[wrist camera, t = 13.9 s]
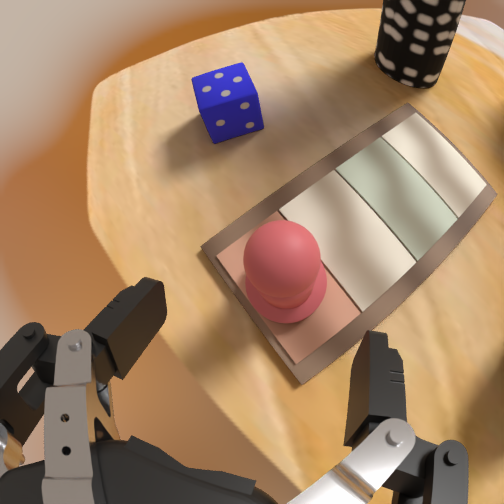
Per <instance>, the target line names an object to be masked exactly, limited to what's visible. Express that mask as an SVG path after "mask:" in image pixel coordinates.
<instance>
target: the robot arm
mask: <svg viewBox="0 0 504 504" xmlns="http://www.w3.org/2000/svg"><path fill="white" fill-rule="evenodd" d="M166 316H167V306H166V299H165V291H164V285H163V282H161V281H158V280H155V279H151V278H148V277H144V278H142V279H141V280H140V281H139V282H138V283H137V284H136V285H135V286H130V287H128V288H126V289H125V290H122V291H121V292H120V293H119V294H118V295H117V296H116V297H115V298H114V299H113V301H111V302H110V303H109V304H108V305H107V307H105V308H104V309H103V310H102V311H101V312H100V313H99V314H98V315H97V316H96V317H95V318H94V319H93V320H92V321H91V322H90V324H89V325H88V326H87V327H86V328H85V329H84V330H79V329H78V330H77V329H76V330H71V331H68V332H66V333H65V334H64V335H62V336H56V335H50V334H46V331H45V330H44V327H43V326H42V325H41V324H40V323H36V322H32V323H28V324H26V325H24V326H23V327H22V328H20V329H19V330H18V332H16V334H15V335H14V336H13V337H12V338H11V339H10V340H9V341H8V342H7V343H6V344H5V346H4V347H3V348H2V349H1V350H0V504H278V503H277V502H276V501H275V500H274V499H273V498H272V497H271V496H269V495H268V494H267V493H265V492H264V491H262V490H261V489H259V488H256V487H255V483H256V480H251V479H248V478H244V477H240V476H237V475H233V474H229V473H226V472H222V471H210V470H202V469H194V468H188V467H185V466H183V465H182V464H181V463H179V462H178V461H176V460H175V459H174V458H172V457H171V456H169V455H168V454H167V453H165V452H164V451H162V450H161V449H160V448H158V447H155V446H153V445H151V444H149V443H147V442H144V441H142V440H140V439H138V438H136V437H134V436H131V437H130V439H129V440H128V441H124V440H121V439H120V436H119V433H118V430H117V427H116V424H115V419H114V411H113V402H112V392H111V383H110V379H111V378H112V377H113V375H114V376H116V377H118V378H120V379H122V380H123V379H124V378H125V376H126V375H127V373H128V372H129V370H130V369H131V368H132V366H133V365H134V364H135V362H136V361H137V360H138V358H139V357H140V355H141V354H142V353H143V351H144V350H145V349H146V347H147V346H148V344H149V343H150V342H151V340H152V339H153V338H154V336H155V335H156V334H157V332H158V331H159V329H160V328H161V327H162V325H163V324H164V322H165V320H166ZM31 366H32V368H33V369H34V371H35V372H34V373H33V375H32V376H31V377H30V378H29V380H28V381H27V382H26V384H25V385H24V386H23V388H22V389H21V390H20V391H19V393H18V392H17V385H18V383H19V381H20V380H21V379H22V378H23V376H24V375H25V374H26V373H27V371H28V370H29V369H30V368H31ZM403 373H404V370H403V360H402V358H401V357H400V355H399V353H398V351H397V349H392V348H388V336H387V334H386V333H382V332H376V331H370V330H367V331H366V333H365V335H364V337H363V340H362V342H361V344H360V346H359V349H358V351H357V353H356V355H355V357H354V360H353V364H352V368H351V377H350V390H349V402H348V412H347V421H346V430H345V438H344V445H343V446H349V447H352V452H351V453H350V454H349V455H348V456H347V457H346V458H345V459H344V460H342V461H341V462H340V463H339V464H338V465H336V466H335V467H333V468H332V469H331V470H330V471H329V472H327V473H326V474H325V475H324V476H323V477H321V478H320V479H319V480H318V481H316V482H315V483H314V484H313V485H311V486H310V487H309V488H307V489H306V490H305V491H303V492H302V493H301V494H299V495H298V496H297V497H295V498H294V499H293V500H291V501H290V502H288V503H287V504H367V503H368V502H369V501H370V500H371V499H372V497H373V496H372V495H373V494H374V493H375V491H376V490H377V489H378V488H379V487H380V486H382V487H385V488H388V489H390V490H393V498H392V504H468V453H467V451H466V449H465V447H464V446H463V445H462V444H461V443H460V442H458V441H455V440H447V441H444V442H443V443H441V444H440V445H439V446H438V445H436V444H433V443H430V442H428V441H425V440H422V439H420V438H418V437H417V436H416V435H415V433H414V430H413V428H412V427H411V426H410V425H409V424H408V423H407V417H406V396H405V384H404V375H403ZM43 415H44V455H45V460H42V461H39V462H35V463H32V464H28V465H24V466H20V467H19V465H22V464H24V462H25V457H24V455H23V454H22V452H23V451H22V447H23V445H24V444H25V442H26V440H27V439H28V437H29V436H30V434H31V433H32V431H33V430H34V428H35V427H36V425H37V424H38V422H39V420H40V419H41V418H42V416H43Z"/></svg>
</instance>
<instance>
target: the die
mask: <svg viewBox="0 0 504 504" xmlns="http://www.w3.org/2000/svg"><path fill="white" fill-rule="evenodd" d="M191 80H192V84H193V88H194V92H195V96H196V100H197V104H198V109H199V112H200V114H201V116H202V119H203V121H204V123H205V125H206V128H207V130H208V132H209V135H210V137H211V139H212V141H213V143H214V144H216V143H219V142H222V141H225V140H228V139H231V138H234V137H237V136H241V135H244V134H247V133H250V132H254V131H257V130H261V129H263V128H264V125H263V119H262V114H261V108H260V103H259V98H258V93H257V91H256V89H255V86H254V84H253V82H252V80H251V78H250V76H249V74H248V72H247V70H246V68H245V65H244V63H238V64H234V65H231V66H227V67H224V68H221V69H218V70H214V71H211V72H208V73H205V74H202V75H199V76H196V77H193V78H192V79H191Z"/></svg>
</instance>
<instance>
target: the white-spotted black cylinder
mask: <svg viewBox="0 0 504 504" xmlns="http://www.w3.org/2000/svg"><path fill="white" fill-rule="evenodd" d="M465 1H466V0H383V7H382V14H381V20H380V27H379V33H378V39H377V45H376V51H375V61H376V64H377V65H378V67H379V68H380V69H381V70H382V71H383V72H384V73H385V74H387V75H388V76H390V77H391V78H393V79H394V80H396V81H398V82H400V83H403V84H405V85H408V86H412V87H417V88H428V87H432V86H434V85H435V84H436V82H437V80H438V78H439V75H440V73H441V70H442V68H443V65H444V63H445V60H446V57H447V55H448V52H449V49H450V47H451V44H452V41H453V38H454V35H455V33H456V30H457V27H458V24H459V21H460V18H461V14H462V11H463V8H464V5H465Z"/></svg>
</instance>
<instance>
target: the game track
mask: <svg viewBox="0 0 504 504" xmlns="http://www.w3.org/2000/svg"><path fill="white" fill-rule="evenodd" d="M496 196H497V193H496V192H495V190H494V189H493V188H492V187H491V185H490V184H489V183H488V182H487V181H486V179H485V178H484V177H483V176H482V175H481V174H480V172H479V171H478V170H477V169H476V168H475V167H474V166H473V164H472V163H471V162H470V161H469V160H468V159H467V158H466V157H465V156H464V155H463V154H462V153H461V152H460V150H459V149H458V148H457V147H456V146H455V145H454V144H453V143H452V142H451V141H450V140H449V139H448V138H447V137H446V136H445V135H444V134H443V133H441V132H440V131H439V130H438V129H437V128H436V127H435V126H434V125H433V124H432V123H431V122H430V121H429V120H427V119H426V118H425V117H424V116H423V115H422V114H421V113H420V112H418V111H417V110H416V109H415V108H414V107H413V106H411V105H410V104H409V103H406V104H405V105H403V106H401V107H400V108H398V109H397V110H395V111H394V112H392V113H391V114H389V115H387V116H386V117H384V118H383V119H381V120H380V121H378V122H377V123H375V124H374V125H372V126H371V127H369V128H367V129H366V130H364V131H363V132H361V133H360V134H358V135H357V136H355V137H354V138H352V139H351V140H349V141H348V142H346V143H345V144H343V145H342V146H340V147H339V148H338V149H336V150H335V151H333V152H332V153H330V154H329V155H327V156H326V157H324V158H323V159H321V160H320V161H318V162H317V163H316V164H314V165H313V166H311V167H310V168H308V169H307V170H305V171H304V172H303V173H301V174H300V175H298V176H297V177H295V178H294V179H292V180H291V181H290V182H288V183H287V184H285V185H284V186H283V187H281V188H280V189H278V190H277V191H275V192H274V193H273V194H271V195H270V196H268V197H267V198H266V199H264V200H263V201H261V202H260V203H259V204H257V205H256V206H255V207H253V208H252V209H250V210H249V211H248V212H246V213H245V214H243V215H242V216H241V217H239V218H238V219H237V220H235V221H234V222H233V223H231V224H230V225H228V226H227V227H226V228H224V229H223V230H222V231H220V232H219V233H218V234H216V235H215V236H214V237H212V238H211V239H210V240H208V241H207V242H206V243H204V244H203V245H202V246H201V248H202V249H203V251H204V252H205V254H206V255H207V257H208V258H209V259H210V261H211V262H212V264H213V265H214V267H215V268H216V269H217V271H218V272H219V274H220V275H221V277H222V278H223V279H224V281H225V282H226V284H227V285H228V286H229V288H230V289H231V291H232V292H233V293H234V295H235V296H236V298H237V299H238V300H239V302H240V303H241V304H242V306H243V307H244V309H245V310H246V311H247V313H248V314H249V315H250V317H251V318H252V320H253V321H254V322H255V324H256V325H257V326H258V328H259V329H260V330H261V332H262V333H263V335H264V336H265V337H266V339H267V340H268V341H269V343H270V344H271V345H272V347H273V348H274V349H275V351H276V352H277V353H278V355H279V356H280V357H281V359H282V360H283V361H284V362H285V364H286V365H287V366H288V368H289V369H290V370H291V372H292V373H293V374H294V376H295V377H296V378H297V379H298V381H299V382H300V383H301V385H302V384H304V383H305V382H307V381H308V380H309V379H311V378H312V377H313V376H315V375H316V374H317V373H319V372H320V371H322V370H323V369H324V368H325V367H327V366H328V365H329V364H331V363H332V362H333V361H335V360H336V359H337V358H338V357H340V356H341V355H342V354H343V353H345V352H346V351H347V350H348V349H350V348H351V347H352V346H353V345H354V344H356V343H357V342H358V341H359V340H360V339H362V338H363V337H364V335H365V333H366V331H367V330H370V331H371V330H372V329H373V328H374V327H376V326H377V325H378V324H379V323H380V322H381V321H382V320H383V319H385V318H386V317H387V316H388V315H389V314H390V313H391V312H392V311H393V310H394V309H396V308H397V307H398V306H399V305H400V304H401V303H402V302H403V301H404V300H405V299H406V298H407V297H408V296H409V295H410V294H411V293H412V292H413V291H414V290H415V289H416V288H417V287H418V286H419V285H420V284H421V283H422V282H423V281H424V280H425V279H426V278H427V277H428V276H429V275H430V274H431V273H432V272H433V271H434V270H435V269H436V268H437V267H438V266H439V264H440V263H441V262H442V261H443V260H444V259H445V258H446V257H447V256H448V255H449V254H450V252H451V251H452V250H453V249H454V248H455V247H456V246H457V244H458V243H459V242H460V241H461V240H462V239H463V237H464V236H465V235H466V234H467V233H468V232H469V230H470V229H471V228H472V227H473V225H474V224H475V223H476V222H477V221H478V219H479V218H480V217H481V215H482V214H483V213H484V212H485V210H486V209H487V208H488V206H489V205H490V204H491V202H492V201H493V200H494V198H495V197H496ZM277 220H287V221H292V222H295V223H298V224H300V225H301V226H303V227H305V228H306V229H307V230H308V231H309V232H310V233H311V234H312V235H313V236H314V238H315V240H316V241H317V243H318V246H319V249H320V254H321V262H322V264H323V266H324V268H325V271H326V276H327V288H326V293H325V296H324V298H323V300H322V302H321V304H320V305H319V307H318V308H317V309H316V310H315V312H313V313H312V314H311V315H310V316H309V317H307V318H305V319H303V320H301V321H298V322H295V323H278V322H274V321H271V320H269V319H267V318H266V317H264V316H263V315H261V314H260V313H259V312H258V311H257V310H256V309H255V308H254V307H253V306H252V304H251V302H250V301H249V298H248V296H247V292H246V287H245V279H246V272H245V269H244V264H243V255H244V249H245V246H246V243H247V241H248V240H249V238H250V237H251V235H252V234H253V233H254V232H255V231H256V230H257V229H258V228H259V227H261V226H262V225H264V224H266V223H269V222H272V221H277Z"/></svg>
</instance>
